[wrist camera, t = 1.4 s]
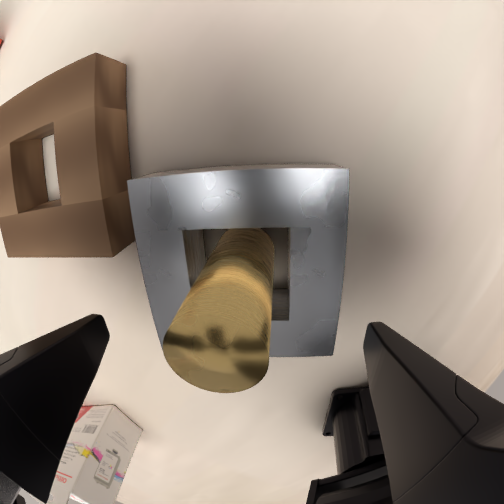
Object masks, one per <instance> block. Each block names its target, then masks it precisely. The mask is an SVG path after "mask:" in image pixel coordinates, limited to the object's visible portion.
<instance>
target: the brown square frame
mask: <svg viewBox="0 0 504 504" xmlns="http://www.w3.org/2000/svg"><path fill="white" fill-rule="evenodd" d="M52 134H54V141H55V155H56V166H57V175H58V183H59V190H60V197H61V199H60V200H54V201H49V202H48V196H47V189H46V182H45V173H44V164H43V152H42V138H44V137H47V136H49V135H52ZM130 179H131V170H130V159H129V147H128V133H127V111H126V64H123V63H121V62H118V61H116V60H114V59H111V58H109V57H106V56H103V55H101V54H98V53H94V54H91V55H89V56H87V57H85V58H82V59H80V60H78V61H76V62H74V63H72V64H70V65H68V66H66V67H64V68H62V69H60V70H58V71H56V72H54V73H52V74H50V75H49V76H47V77H45V78H43V79H42V80H40V81H38V82H36V83H35V84H33V85H31V86H30V87H28V88H27V89H25V90H24V91H22V92H20V93H19V94H17V95H16V96H14V97H13V98H12V99H10V100H9V101H7V102H6V103H4V104H3V105H2V106H0V228H1V232H2V237H3V241H4V245H5V249H6V252H7V256H8V257H114V256H115V255H117V254H118V253H119V252H120V251H122V250H123V249H124V248H126V247H127V246H128V245H130V244H131V243H132V242H134V241H135V240H136V238H135V233H134V227H133V221H132V214H131V208H130V201H129V193H128V185H127V180H130Z"/></svg>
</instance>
